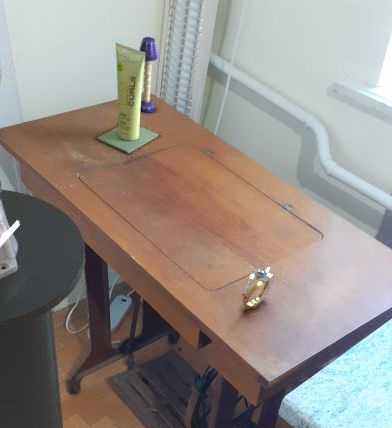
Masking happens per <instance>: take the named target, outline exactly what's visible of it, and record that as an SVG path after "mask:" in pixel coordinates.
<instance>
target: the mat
mask: <svg viewBox="0 0 392 428" xmlns="http://www.w3.org/2000/svg"><path fill="white" fill-rule="evenodd" d="M157 137H159V133H157V132H155V131H152V130H150V129H147V128H145V127H143V126H141V125H140V126H139V137H138V139H136V140H132V141H129V140H124V139H121V138H120V137H119V136H118V126H117V127H115V128H113V129H111V130H109V131H107V132H105V133H104V134H101V135H99V136H98V137H97V140H98V141H100V142H102V143H104V144H106V145H109V146H111V147H113V148H115V149H118V150H120V151H122V152H124V153H126V154H130V153H133V152H134V151H136V150H138V149H139V148H140V147H142V146H144V145H146V144H147V143H149V142H150V141H152V140H154V139H156V138H157Z"/></svg>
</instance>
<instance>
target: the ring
mask: <svg viewBox="0 0 392 428" xmlns="http://www.w3.org/2000/svg"><path fill="white" fill-rule="evenodd" d="M270 269H271V268H270V267H267V268H266V267H264V268H263V267H260V268H259V267H256V268H254V269H253V270H252V272H251V274H250V275H249V278H248V280H247V282H246V284H245V286H244V288H243V291H242V294H241V297H240V303H241V305H242V306H243V307H244V308H245V309H247V310H248V309H254V308H256V307H257V305H259V304H260V303H261V302H262V301H263V300H264V299H265V298H266V296H267V295H268V293H269V292H270V290H271V288H272V286H273V284H274V278H275V277H274V276H275V275H274V274H273V273H271V272H270ZM254 280H257V281H258V282H257V283H256V284H255V285H254V286H253V287H252V288H251V286H252V284H253V282H254ZM263 284H264V286H263V288H262V290H261V292H260V293H259V295H258V296H257V297H256V298H255V299H252V300H250V298H251V297H252V296H253V294H254V293H255V292H256V291H257V290H258V288H259V287H260V286H261V285H263ZM249 300H250V302H249Z"/></svg>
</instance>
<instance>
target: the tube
mask: <svg viewBox="0 0 392 428" xmlns="http://www.w3.org/2000/svg"><path fill="white" fill-rule="evenodd" d="M139 50H140V49H139ZM139 50H138V49H136V48H133V47H129V46H127V45H124V44H122V43H119V42H115V55H116V56H115V57H116V84H117V86H116V87H117V88H116V89H117V90H116V91H117V127H118V136H119V137H120V138H121V139H124V140H129V141H132V140H136V139H138V137H139V126H141V125H140V123H141V111H140V107H141V101H142V93H143V91H142V90H143V81H144V70H145V69H144V66H145V52H142V51H139Z"/></svg>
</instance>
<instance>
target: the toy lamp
mask: <svg viewBox="0 0 392 428" xmlns="http://www.w3.org/2000/svg"><path fill="white" fill-rule="evenodd" d="M157 47H158V46H157V43H156V39H155V38H154V37H151V36H144V37H143V38H142V40H141V43H140V46H139V51H142V52H145V60H144V69H143V85H142V88H143V91H142V94H143V96H142V100H141V107H140V112H142V113H147V114H148V113H153V112H154V111H155V105H154V103H153V102H152V101H151V97H150V96H151V88H152V87H151V85H152V84H151V83H152V78H151V77H152V69H153V68H152V67H153V66H152V63H153V61H157V60H158V58H159V53H158V48H157Z"/></svg>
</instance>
